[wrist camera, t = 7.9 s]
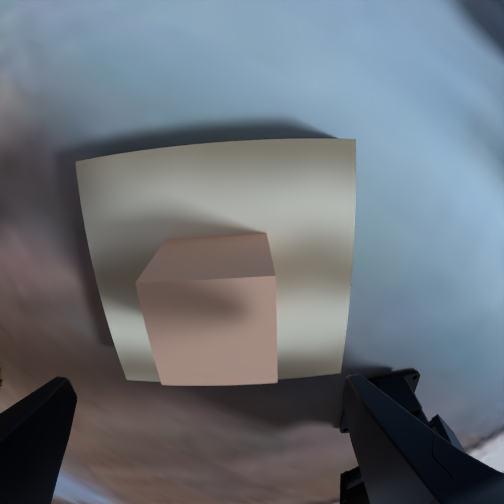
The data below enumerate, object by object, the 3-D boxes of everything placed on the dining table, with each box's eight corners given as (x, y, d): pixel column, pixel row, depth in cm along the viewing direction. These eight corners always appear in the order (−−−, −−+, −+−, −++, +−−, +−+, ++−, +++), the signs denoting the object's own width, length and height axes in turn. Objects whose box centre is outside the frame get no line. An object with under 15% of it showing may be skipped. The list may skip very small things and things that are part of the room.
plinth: (330, 346, 22) (340, 373, 19) (138, 353, 22) (126, 379, 19) (338, 138, 17) (355, 139, 14) (99, 156, 17) (75, 161, 14)
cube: (269, 320, 17) (277, 382, 13) (180, 324, 17) (161, 385, 13) (266, 233, 16) (275, 275, 11) (166, 239, 16) (135, 282, 11)
